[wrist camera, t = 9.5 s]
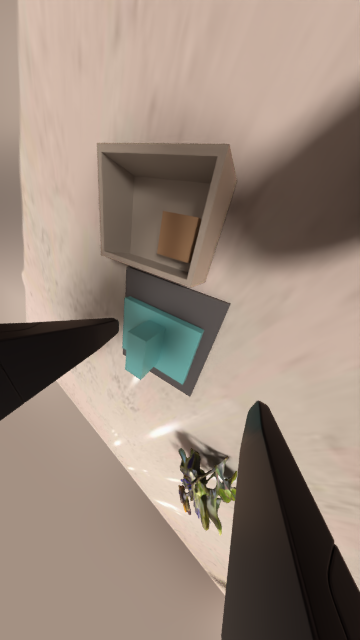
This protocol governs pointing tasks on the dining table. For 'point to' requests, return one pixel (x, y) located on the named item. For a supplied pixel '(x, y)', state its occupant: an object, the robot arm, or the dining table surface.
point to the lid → (157, 341)
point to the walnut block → (178, 236)
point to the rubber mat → (180, 316)
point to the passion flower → (204, 489)
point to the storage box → (162, 202)
